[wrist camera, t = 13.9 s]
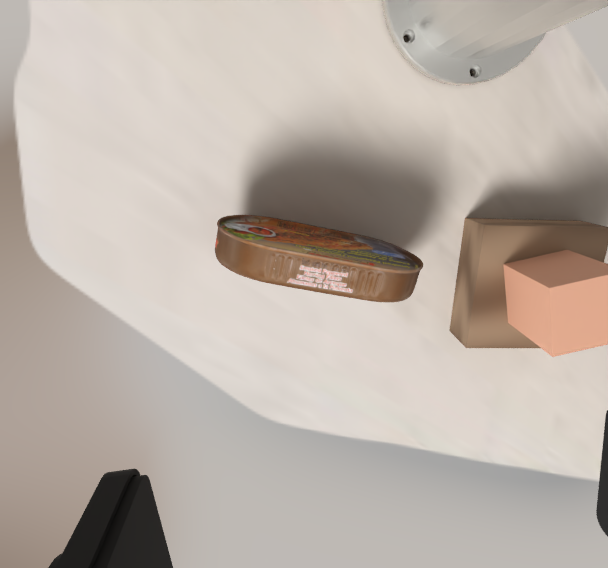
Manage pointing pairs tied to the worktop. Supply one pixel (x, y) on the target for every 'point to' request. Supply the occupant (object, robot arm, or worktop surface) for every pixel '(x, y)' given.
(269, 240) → the tin
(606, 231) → the walnut base
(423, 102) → the worktop surface
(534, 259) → the salmon pink block
